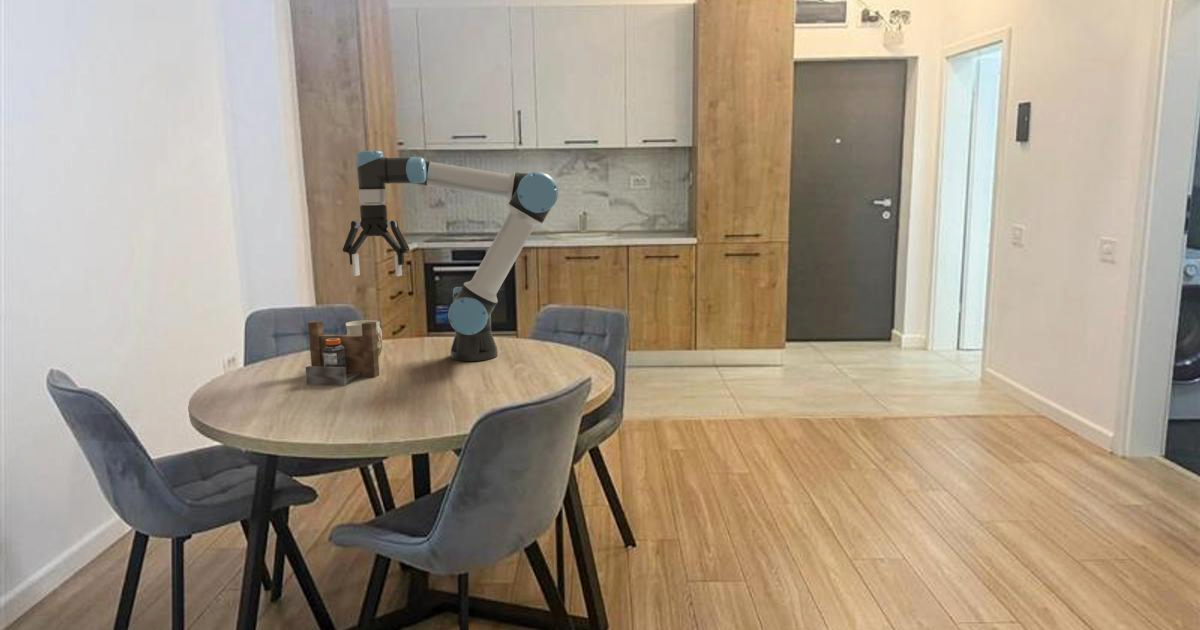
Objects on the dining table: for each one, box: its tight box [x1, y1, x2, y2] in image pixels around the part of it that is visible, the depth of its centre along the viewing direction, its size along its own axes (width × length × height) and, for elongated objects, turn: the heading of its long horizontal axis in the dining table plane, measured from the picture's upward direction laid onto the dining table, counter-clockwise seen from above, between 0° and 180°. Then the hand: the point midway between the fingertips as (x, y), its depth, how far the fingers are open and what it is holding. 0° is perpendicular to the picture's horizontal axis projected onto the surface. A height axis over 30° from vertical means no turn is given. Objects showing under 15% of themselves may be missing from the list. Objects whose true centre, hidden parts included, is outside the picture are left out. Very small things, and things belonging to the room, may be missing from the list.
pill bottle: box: [323, 338, 347, 376], centre depth 225 cm, size 6×6×11 cm
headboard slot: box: [305, 320, 380, 387], centre depth 226 cm, size 20×13×16 cm, turn 80°
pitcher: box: [344, 319, 383, 360], centre depth 246 cm, size 11×18×14 cm, turn 164°
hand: (377, 275), depth 234 cm, fingers open, 13 cm apart
